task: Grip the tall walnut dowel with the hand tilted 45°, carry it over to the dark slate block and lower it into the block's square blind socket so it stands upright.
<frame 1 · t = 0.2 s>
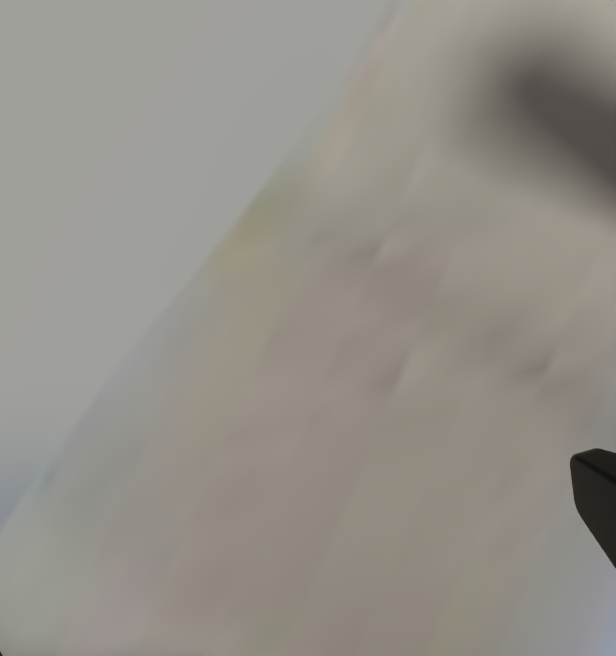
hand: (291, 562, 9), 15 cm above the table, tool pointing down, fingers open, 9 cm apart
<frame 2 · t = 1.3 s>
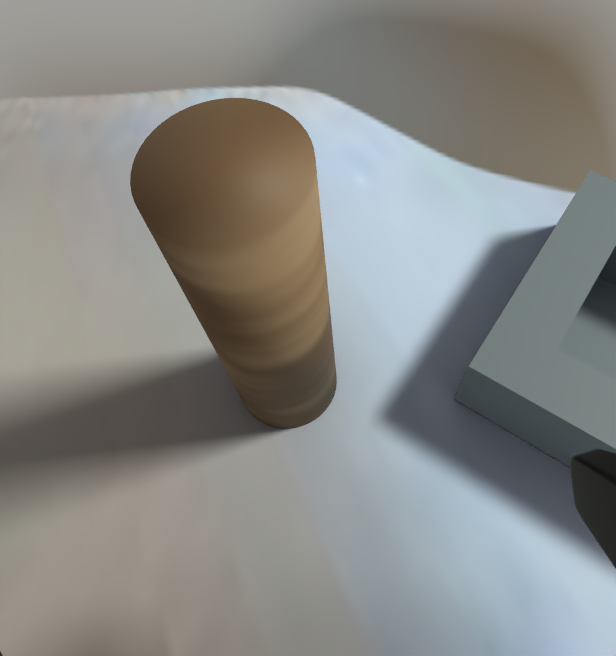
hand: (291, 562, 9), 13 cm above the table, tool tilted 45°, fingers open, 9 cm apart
walnut dowel: (288, 380, 24), on the table
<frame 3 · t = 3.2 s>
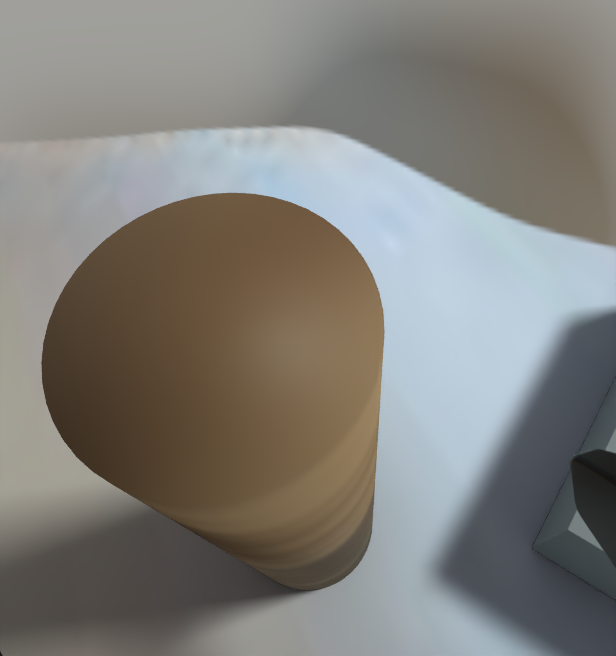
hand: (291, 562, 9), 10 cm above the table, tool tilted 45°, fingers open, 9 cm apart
walnut dowel: (307, 520, 18), on the table
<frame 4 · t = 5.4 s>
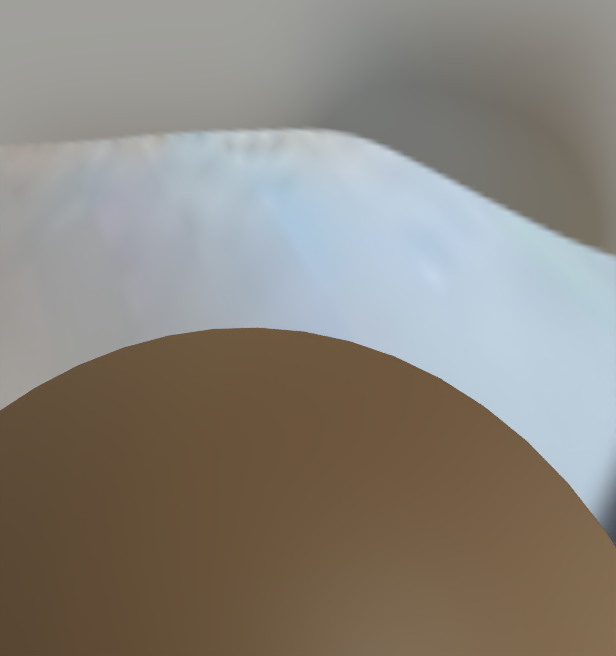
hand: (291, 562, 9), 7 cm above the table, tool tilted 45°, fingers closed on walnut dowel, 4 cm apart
walnut dowel: (335, 650, 14), on the table, touching gripper
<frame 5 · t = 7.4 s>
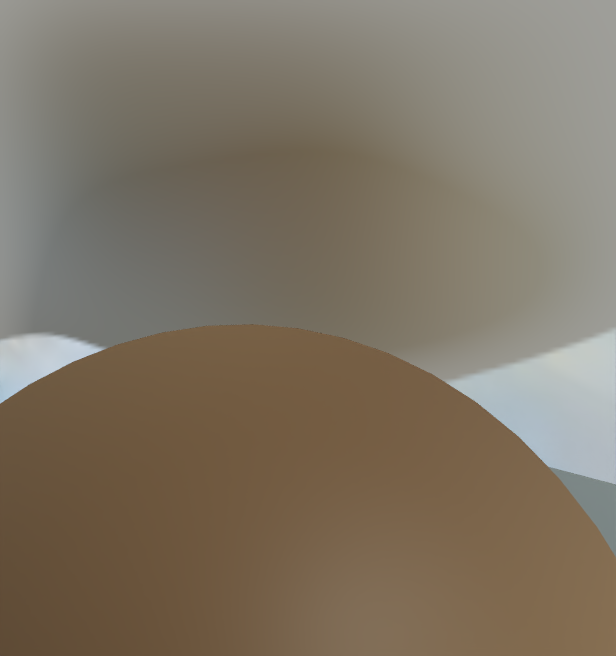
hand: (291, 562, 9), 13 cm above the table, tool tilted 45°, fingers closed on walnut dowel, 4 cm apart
socket block: (453, 618, 20), on the table
walnut dowel: (334, 648, 14), point 7 cm above the table, touching gripper
when the fingers open (8 cm above the table, at t = 9.8 s): walnut dowel stays where it is, resting on socket block.
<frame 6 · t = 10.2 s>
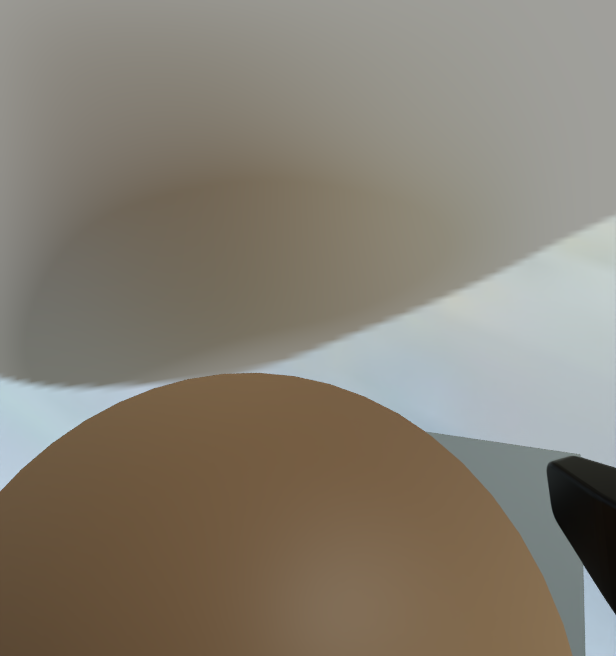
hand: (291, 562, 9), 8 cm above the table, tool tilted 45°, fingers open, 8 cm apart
socket block: (338, 647, 15), on the table
walnut dowel: (337, 650, 15), point 1 cm above the table, touching socket block
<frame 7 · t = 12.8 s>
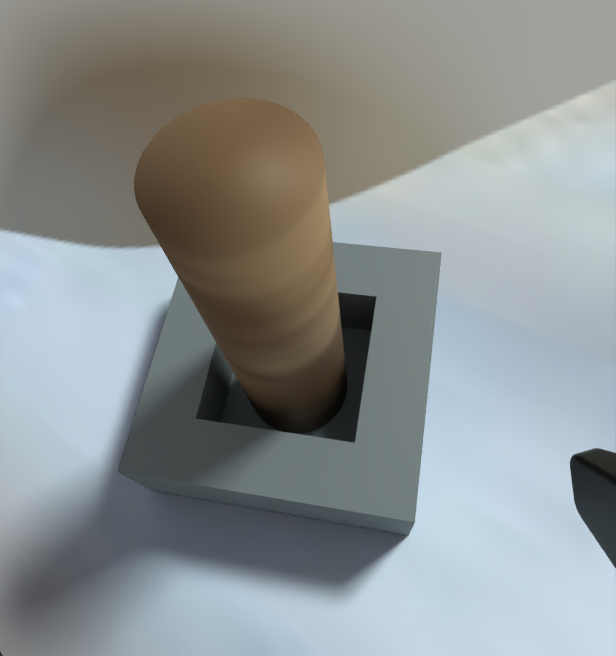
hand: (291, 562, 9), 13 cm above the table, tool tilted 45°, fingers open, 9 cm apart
socket block: (299, 388, 24), on the table
walnut dowel: (298, 385, 24), point 1 cm above the table, touching socket block
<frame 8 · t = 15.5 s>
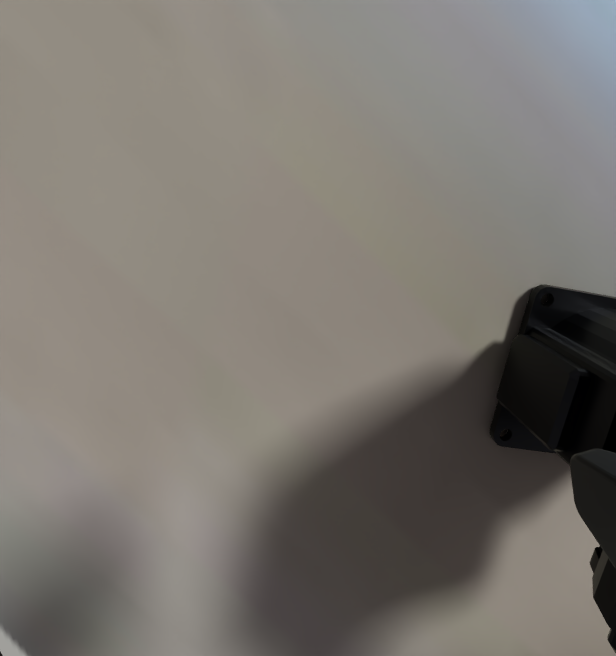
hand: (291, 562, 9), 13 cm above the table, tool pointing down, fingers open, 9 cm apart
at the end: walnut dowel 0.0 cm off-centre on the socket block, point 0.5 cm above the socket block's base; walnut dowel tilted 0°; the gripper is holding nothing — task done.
